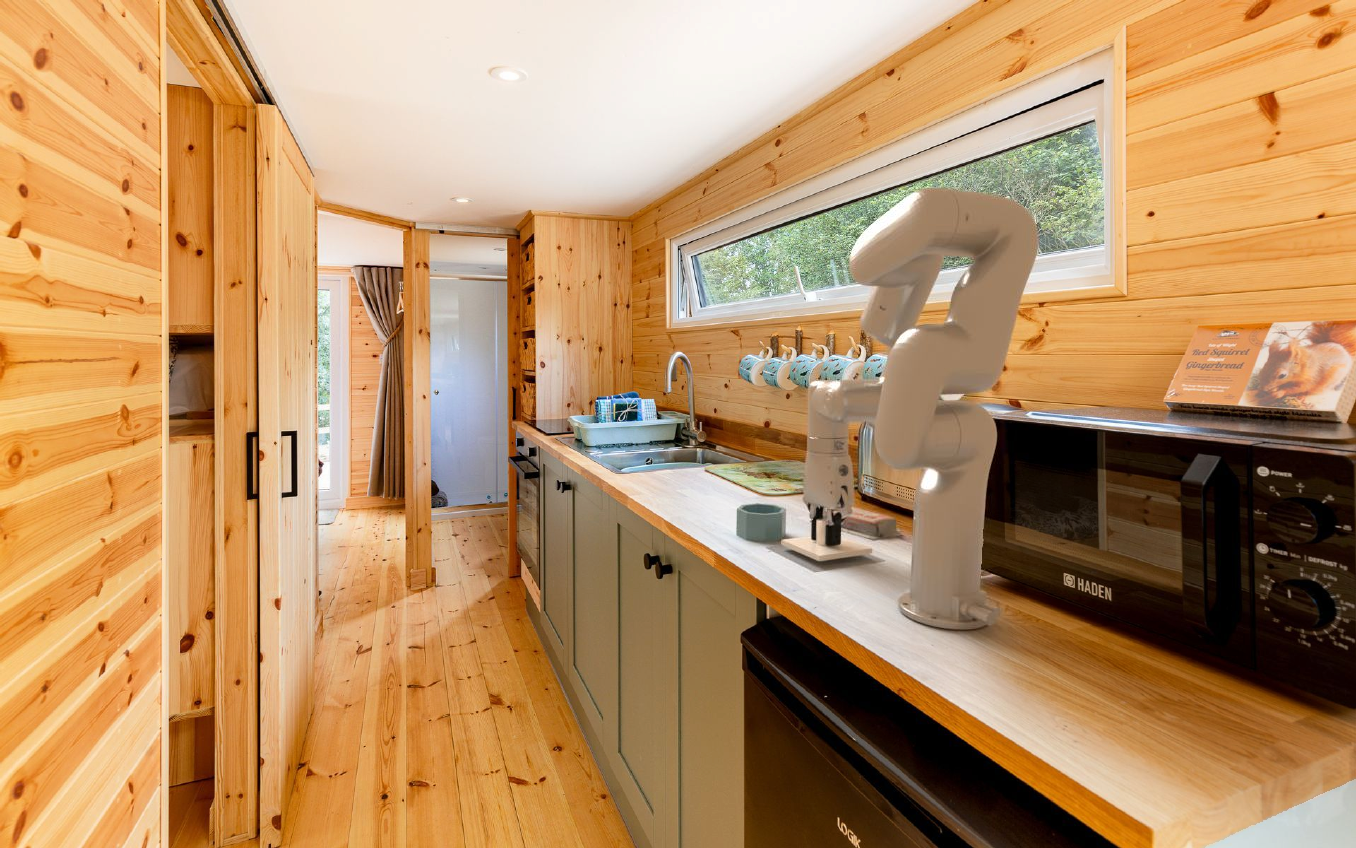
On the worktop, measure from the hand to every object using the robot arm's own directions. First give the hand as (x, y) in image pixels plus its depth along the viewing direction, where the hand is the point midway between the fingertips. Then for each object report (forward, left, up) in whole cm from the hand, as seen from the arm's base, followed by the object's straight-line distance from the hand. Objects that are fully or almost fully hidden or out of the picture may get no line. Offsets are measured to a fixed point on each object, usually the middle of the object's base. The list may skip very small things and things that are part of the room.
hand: (825, 541), depth 123 cm
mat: (+1, 0, -3) cm, 3 cm away
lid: (0, 0, -1) cm, 1 cm away
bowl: (+17, +4, -3) cm, 17 cm away
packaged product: (+14, -19, -4) cm, 23 cm away
